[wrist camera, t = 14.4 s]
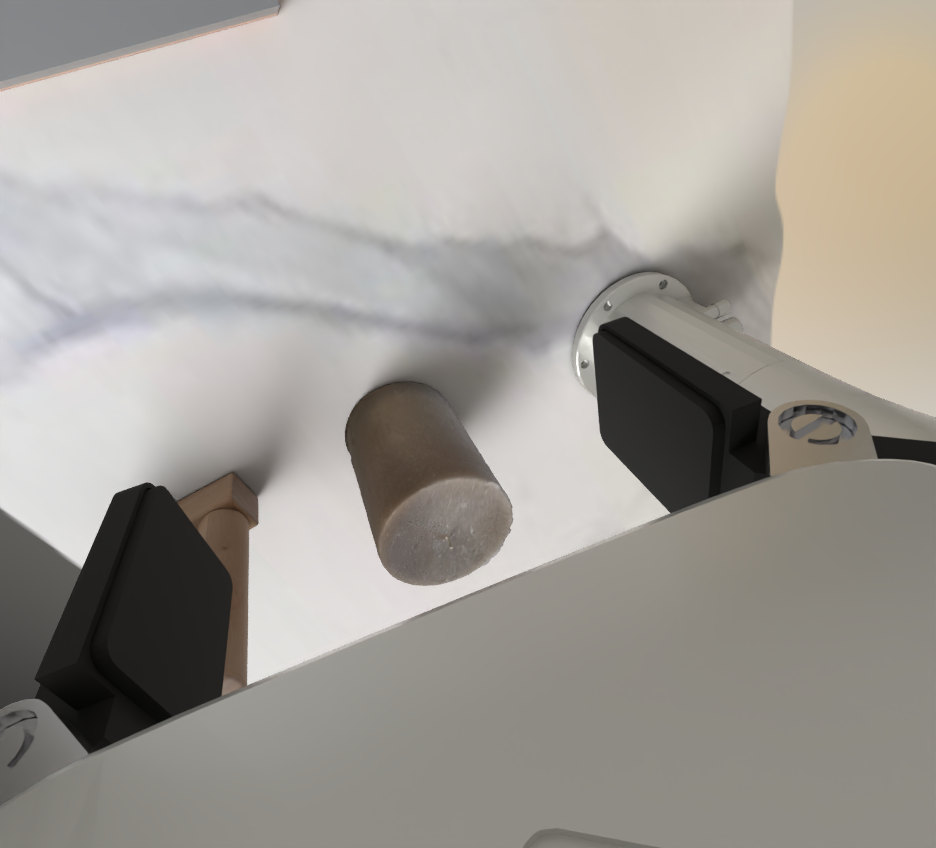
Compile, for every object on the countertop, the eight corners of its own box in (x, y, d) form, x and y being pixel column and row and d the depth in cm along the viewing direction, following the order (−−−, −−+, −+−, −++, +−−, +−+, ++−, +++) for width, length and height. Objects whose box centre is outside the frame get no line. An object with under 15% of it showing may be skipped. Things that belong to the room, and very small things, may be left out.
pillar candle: (323, 453, 44) (351, 588, 32) (383, 360, 41) (437, 470, 30) (415, 486, 50) (468, 612, 38) (474, 406, 47) (550, 514, 35)
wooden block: (112, 534, 42) (38, 766, 27) (233, 469, 42) (221, 663, 28) (146, 559, 44) (93, 786, 29) (260, 497, 44) (262, 690, 30)
